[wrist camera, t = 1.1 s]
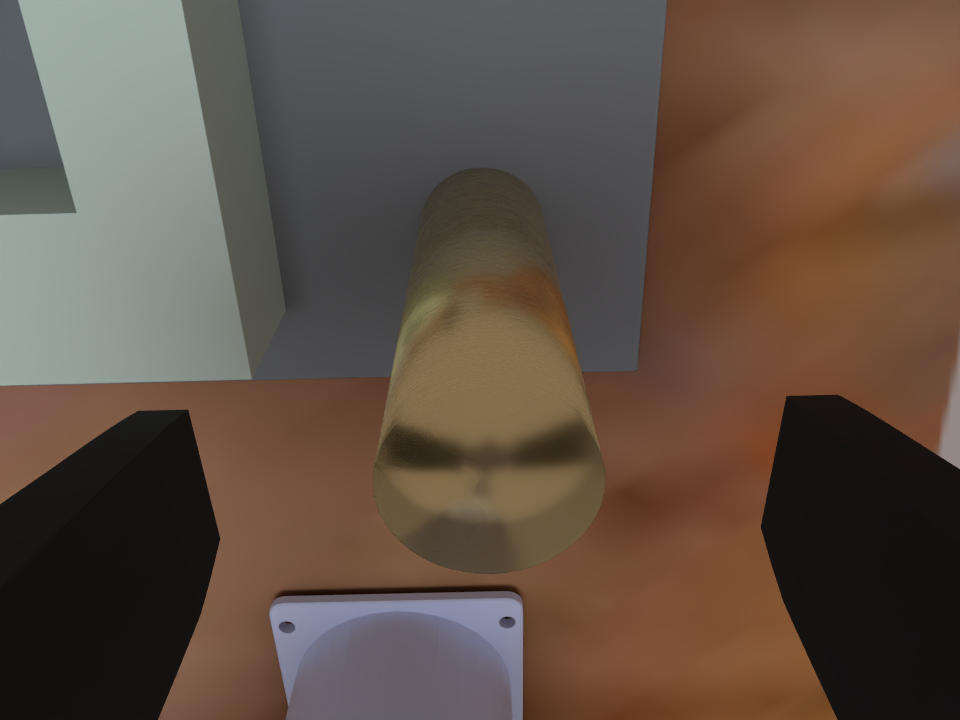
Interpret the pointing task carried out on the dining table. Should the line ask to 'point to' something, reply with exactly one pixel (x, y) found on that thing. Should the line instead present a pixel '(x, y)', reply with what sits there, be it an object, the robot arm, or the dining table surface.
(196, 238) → the hole block
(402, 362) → the brass peg
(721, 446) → the dining table surface
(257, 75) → the rubber mat
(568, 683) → the dining table surface
